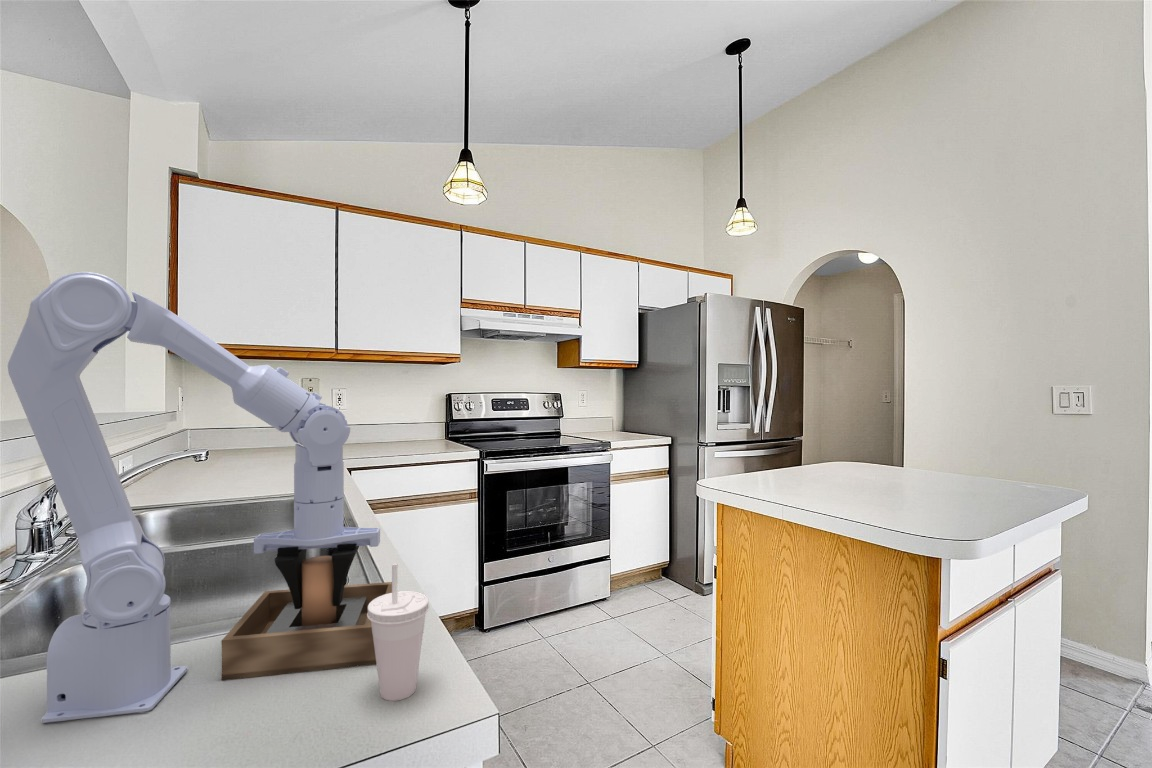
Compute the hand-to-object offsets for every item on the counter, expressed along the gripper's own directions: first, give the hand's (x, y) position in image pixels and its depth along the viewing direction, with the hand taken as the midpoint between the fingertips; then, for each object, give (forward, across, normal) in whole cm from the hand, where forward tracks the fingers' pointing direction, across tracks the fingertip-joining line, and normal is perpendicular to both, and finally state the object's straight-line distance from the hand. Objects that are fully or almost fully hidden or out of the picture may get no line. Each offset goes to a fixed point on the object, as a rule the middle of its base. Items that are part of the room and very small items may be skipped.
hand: (319, 604), depth 69 cm
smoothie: (+5, -11, +13) cm, 18 cm away
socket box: (+5, 0, 0) cm, 5 cm away
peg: (+2, 0, 0) cm, 2 cm away
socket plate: (+5, 0, 0) cm, 5 cm away
